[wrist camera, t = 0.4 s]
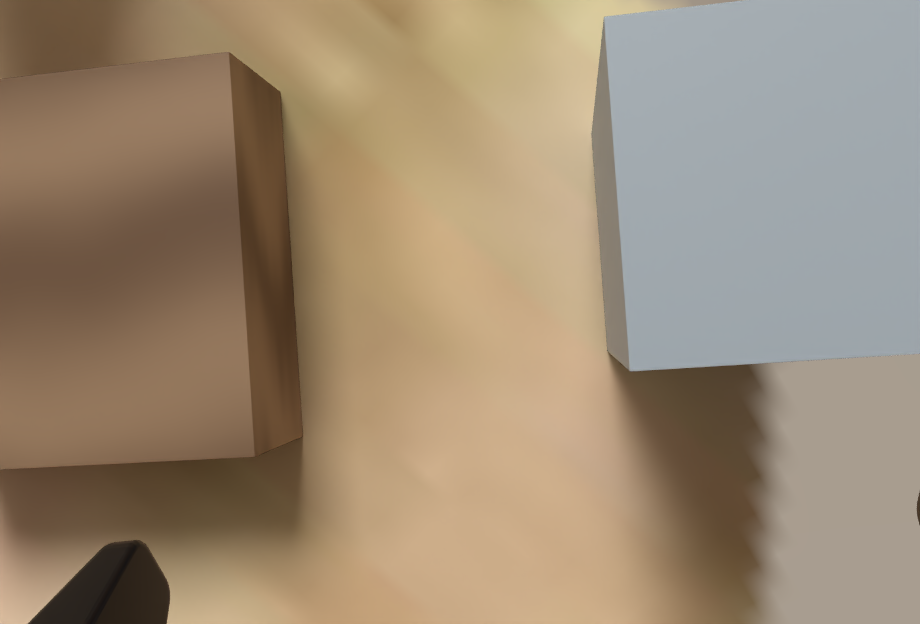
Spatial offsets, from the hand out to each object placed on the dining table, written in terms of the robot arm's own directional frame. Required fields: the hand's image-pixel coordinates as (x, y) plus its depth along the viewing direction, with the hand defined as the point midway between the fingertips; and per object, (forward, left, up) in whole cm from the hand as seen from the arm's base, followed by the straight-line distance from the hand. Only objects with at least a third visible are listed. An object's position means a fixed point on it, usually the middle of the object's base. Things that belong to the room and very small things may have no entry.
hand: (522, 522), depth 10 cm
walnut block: (+10, +8, -14) cm, 19 cm away
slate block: (+2, -6, -14) cm, 15 cm away
